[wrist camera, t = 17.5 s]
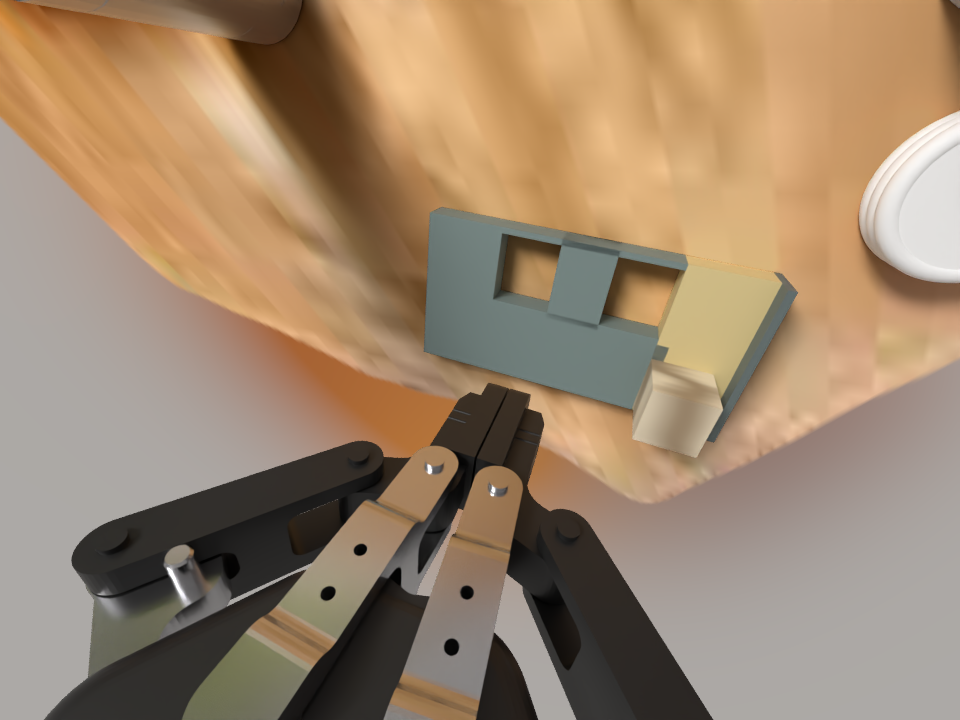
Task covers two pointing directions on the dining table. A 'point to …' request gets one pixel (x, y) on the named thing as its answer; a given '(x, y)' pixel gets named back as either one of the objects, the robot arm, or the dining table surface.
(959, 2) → the coffee box
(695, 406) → the block
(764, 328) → the box
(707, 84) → the dining table surface
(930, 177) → the white ridged round container
